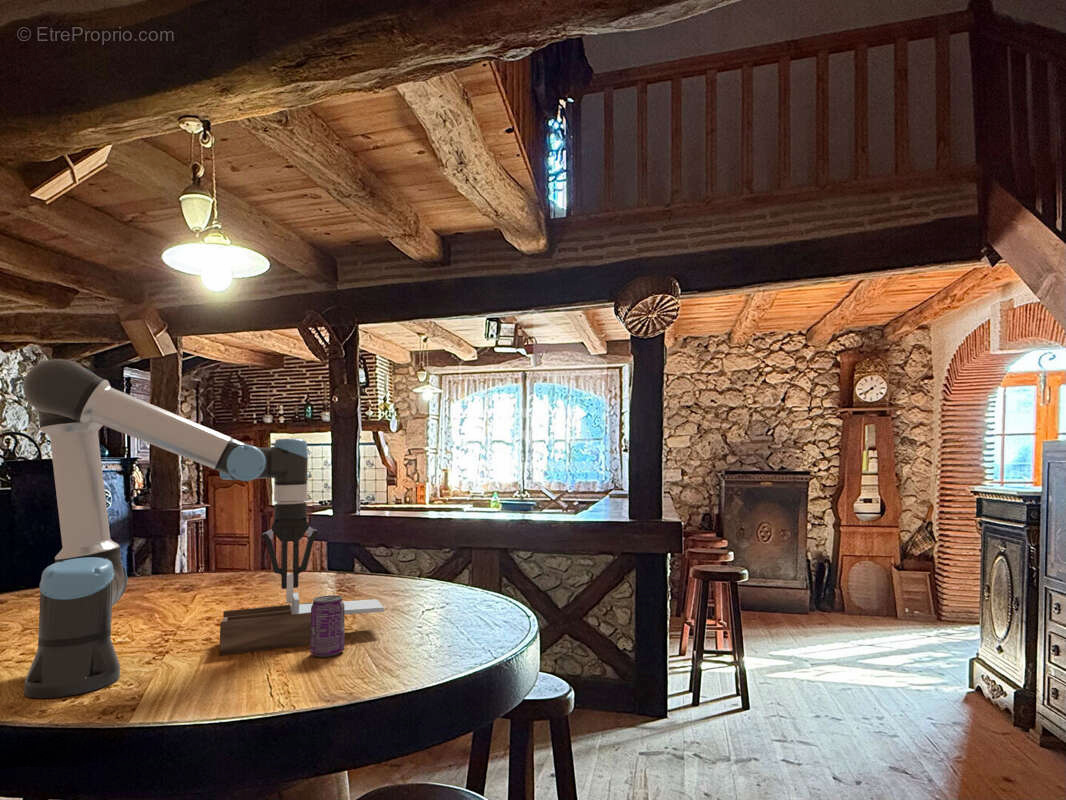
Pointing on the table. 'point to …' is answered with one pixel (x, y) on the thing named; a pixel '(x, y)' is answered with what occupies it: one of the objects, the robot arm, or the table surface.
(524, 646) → the table surface
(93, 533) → the robot arm
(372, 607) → the lid
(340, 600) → the beverage can
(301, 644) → the box
